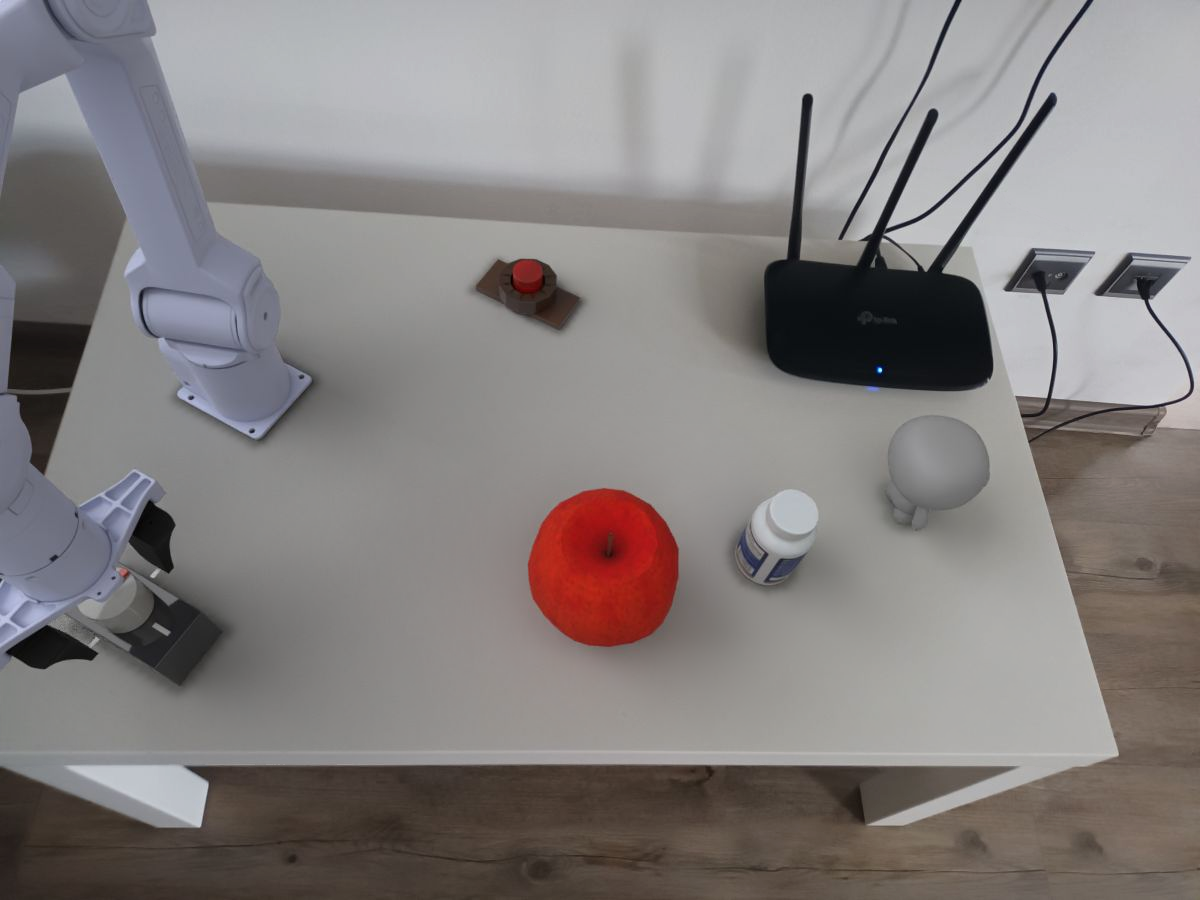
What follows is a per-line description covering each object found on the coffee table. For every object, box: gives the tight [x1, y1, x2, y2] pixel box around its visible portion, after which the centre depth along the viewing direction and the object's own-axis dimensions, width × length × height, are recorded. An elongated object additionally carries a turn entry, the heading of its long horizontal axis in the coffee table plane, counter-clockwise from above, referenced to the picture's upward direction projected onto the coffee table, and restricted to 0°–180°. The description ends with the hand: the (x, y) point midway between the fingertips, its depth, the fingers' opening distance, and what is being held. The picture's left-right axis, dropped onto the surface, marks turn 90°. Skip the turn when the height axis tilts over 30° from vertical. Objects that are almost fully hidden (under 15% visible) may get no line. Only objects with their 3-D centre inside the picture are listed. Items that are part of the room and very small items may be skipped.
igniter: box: [475, 258, 581, 331], centre depth 84 cm, size 10×6×2 cm, turn 62°
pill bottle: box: [734, 488, 820, 586], centre depth 68 cm, size 5×5×10 cm
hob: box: [64, 561, 224, 687], centre depth 63 cm, size 10×8×5 cm
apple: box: [527, 487, 680, 648], centre depth 63 cm, size 12×12×13 cm
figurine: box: [885, 414, 991, 531], centre depth 71 cm, size 8×8×12 cm
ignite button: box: [513, 260, 543, 294], centre depth 83 cm, size 3×3×2 cm
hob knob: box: [78, 567, 154, 633], centre depth 59 cm, size 4×4×4 cm
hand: (124, 606), depth 61 cm, fingers open, 7 cm apart
